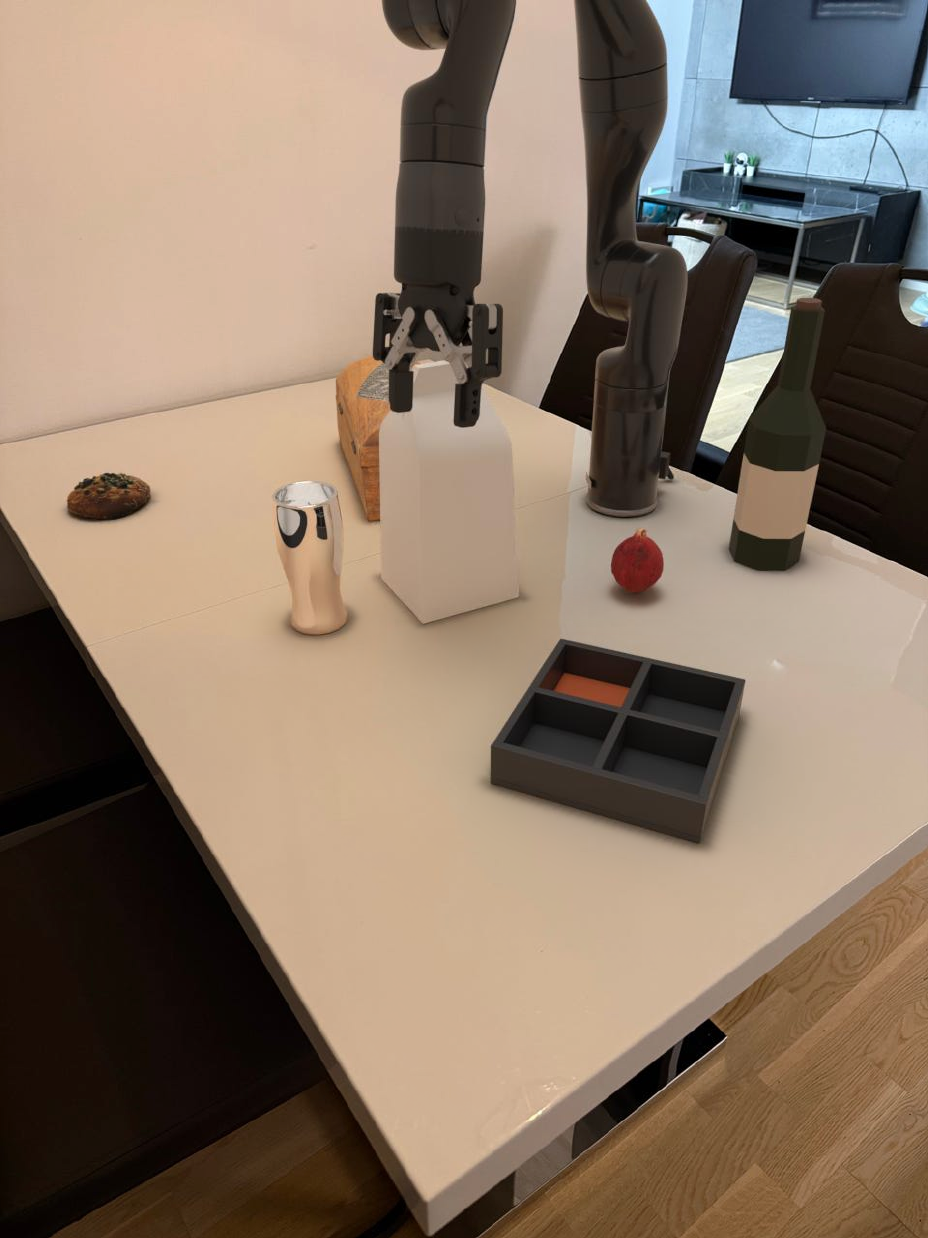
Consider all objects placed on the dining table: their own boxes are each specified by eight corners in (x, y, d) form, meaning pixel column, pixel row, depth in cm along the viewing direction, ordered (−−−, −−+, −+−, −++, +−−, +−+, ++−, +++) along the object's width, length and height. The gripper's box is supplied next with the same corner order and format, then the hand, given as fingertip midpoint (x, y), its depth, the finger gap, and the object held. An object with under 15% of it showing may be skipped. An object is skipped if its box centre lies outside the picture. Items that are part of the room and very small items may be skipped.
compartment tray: (558, 672, 91) (560, 637, 89) (739, 715, 85) (745, 679, 82) (490, 783, 77) (490, 745, 75) (699, 843, 71) (706, 804, 69)
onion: (659, 608, 101) (667, 543, 97) (607, 603, 102) (612, 539, 98) (660, 583, 106) (668, 520, 102) (610, 578, 107) (615, 516, 103)
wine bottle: (803, 547, 113) (855, 295, 97) (794, 577, 107) (847, 312, 91) (735, 534, 116) (774, 288, 100) (721, 563, 110) (761, 305, 94)
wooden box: (483, 510, 123) (483, 410, 116) (361, 523, 120) (353, 421, 113) (440, 433, 148) (438, 347, 141) (338, 442, 145) (330, 355, 138)
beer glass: (289, 605, 103) (273, 481, 95) (352, 602, 103) (340, 478, 95) (284, 639, 97) (266, 509, 89) (350, 635, 97) (338, 506, 89)
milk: (423, 623, 99) (412, 387, 85) (381, 578, 108) (365, 357, 94) (518, 596, 104) (523, 368, 90) (471, 555, 112) (469, 341, 99)
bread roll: (98, 527, 120) (88, 490, 118) (53, 516, 126) (43, 481, 124) (169, 501, 127) (160, 466, 125) (123, 493, 134) (115, 459, 132)
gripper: (532, 229, 75) (517, 428, 81) (416, 225, 84) (410, 404, 90) (467, 224, 70) (456, 436, 76) (351, 220, 79) (350, 410, 85)
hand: (431, 418), depth 83 cm, fingers open, 8 cm apart
